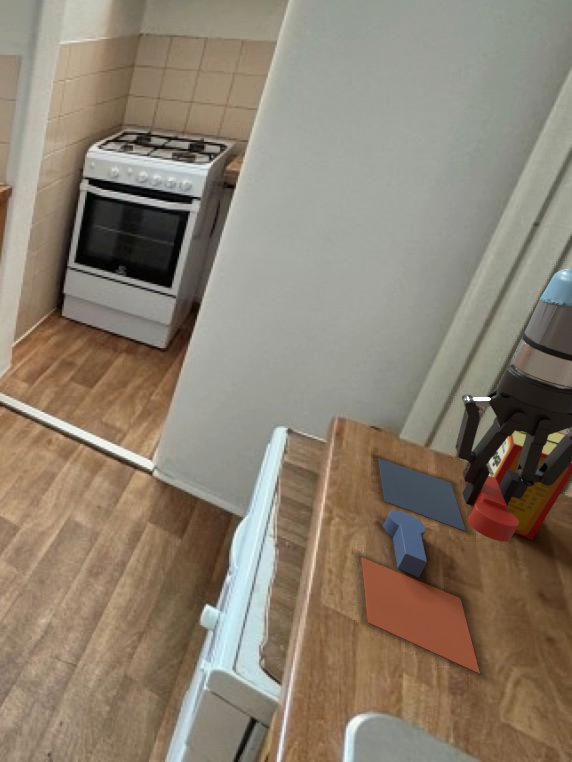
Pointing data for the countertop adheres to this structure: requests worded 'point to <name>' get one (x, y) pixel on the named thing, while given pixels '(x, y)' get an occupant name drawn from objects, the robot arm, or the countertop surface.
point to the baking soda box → (535, 497)
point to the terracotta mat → (418, 614)
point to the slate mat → (420, 494)
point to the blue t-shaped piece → (407, 541)
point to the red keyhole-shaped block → (492, 513)
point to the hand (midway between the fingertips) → (481, 504)
